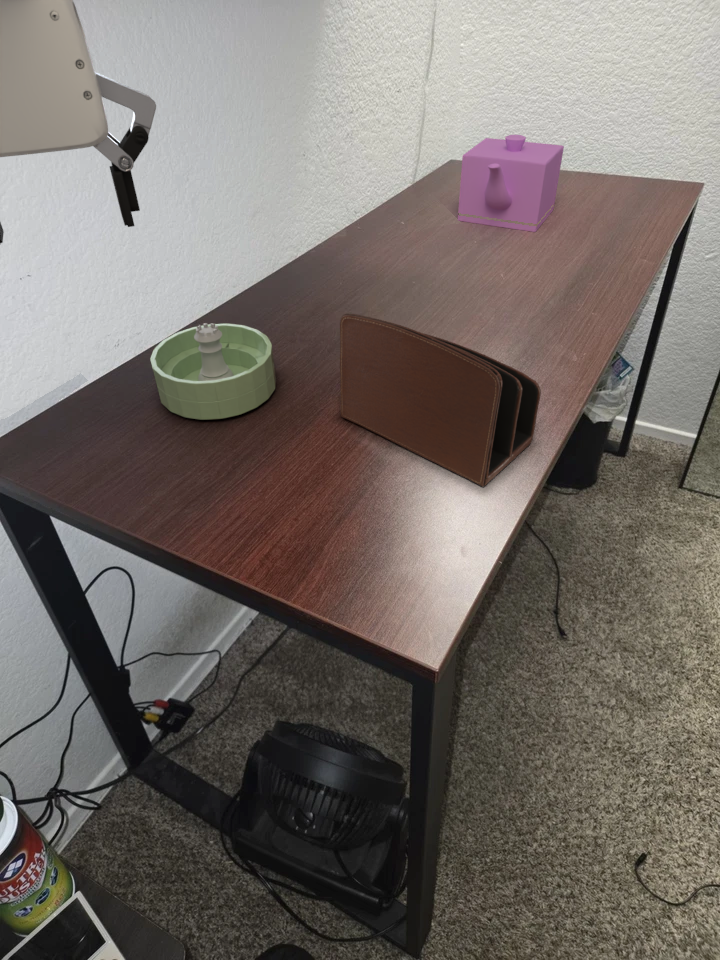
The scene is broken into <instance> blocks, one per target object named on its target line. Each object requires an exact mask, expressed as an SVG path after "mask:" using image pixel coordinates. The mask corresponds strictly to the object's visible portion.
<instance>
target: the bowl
mask: <svg viewBox="0 0 720 960" xmlns="http://www.w3.org/2000/svg"><path fill="white" fill-rule="evenodd" d="M210 324H211V323H209V324H208V323H207V325H208V327H211V325H210ZM214 324H215V326H216V325H217V327H218V330H220V331H221V332H222V336H221V338H220V340H219V342H220V343H221V344H222V348H221V351H222V355H223V358H224V361H225V363H226V365H228V367H229V369H231V370H232V372H233V375H234V376H232V377H227V378H223V379H218V380H209V381H199V380H198V376H199V374H200V370H201V368H202V356H201V352H200V351H199V349H198V347H199V345H200V344H199V342H197V341H196V340H195V339H194V336H195V334H196V329H197V326H193V327H189V328H187V329H184V330H181V331H177V332H175V333H173V334H172V335H170V336H167V337H166V338H164V339H163V340H161V341H160V343H158V345H156V346H155V347H154V349H153V350H152V353H151V355H150V358H149V360H150V365H151V369H152V372H153V376H154V381H155V383H156V389H157V392H158V395H159V399H160V400H159V401H160V403H161V404H162V406H164V407H165V408H166V409H167V410H168V411H169V412H171V413H173V414H175V415H177V416H180V417H183V418H187V419H195V420H201V421H204V420H221V419H227V418H232V417H236V416H239V415H242V414H245V413H247V412H250V411H252V410H254V409H256V408H259V406H261V405H262V404H263V403H265V402H266V401H268V400H269V399H270V397H271V396H272V395H273V393H274V392H275V390H276V384H277V383H276V382H277V374H276V367H275V366H276V365H275V359H274V358H275V357H274V351H273V344H272V342H271V340H270V338H269V337H268V336H267V335H266V334H265V333H263V332H261V331H260V330H259V329H256V328H253V327H251V326H247V325H244V324H235V323H214ZM200 326H201V328H203V327H204V326H203V325H200Z"/></svg>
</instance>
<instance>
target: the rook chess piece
mask: <svg viewBox="0 0 720 960" xmlns="http://www.w3.org/2000/svg"><path fill="white" fill-rule="evenodd" d="M209 324H210V325H211V327H208V322H205V323H202V325H201V324H198V325H197V326H196V327H197V329H196V334H195V336H194V339H195V340H196V341H197V342H199V344H200V345H199V347H198V349H199V351H200V352H201V356H202V368H201V370H200V374H199V376H198V380H199V381H209V380H218V379H223V378H227V377H232V376H234V375H233V372H232V370H231V369H229V367H228V365H226V363H225V361H224V358H223V355H222V351H221V348H222V344H221V343H220V342H219V340H220V338H221V336H222V332H221V331H220V330H218V327H217V325H216V326H215V324H216V323H213V322H211V323H209ZM201 326H204V327H203V328H201Z"/></svg>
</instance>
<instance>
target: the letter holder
mask: <svg viewBox="0 0 720 960" xmlns="http://www.w3.org/2000/svg"><path fill="white" fill-rule="evenodd" d="M339 379H340V380H339V383H340V384H339V387H340V388H339V389H340V391H339V392H340V393H339V394H340V395H339V396H340V398H339V399H340V401H339V412H340V417H341V418H342V419H345V420H347V421H349V422H351V423H354V424H356V425H358V426H360V427H361V428H364V429H365V430H368V431H370V432H372V433H374V434H376V435H378V436H380V437H382V438H384V439H386V440H388V441H390V442H392V443H394V444H396V445H398V446H400V447H402V448H404V449H406V450H408V451H410V452H412V453H414V454H416V455H418V456H420V457H422V458H424V459H425V460H428V461H430V462H432V463H433V464H436V465H438V466H440V467H442V468H444V469H446V470H447V471H450V472H452V473H454V474H456V475H457V476H460V477H462V478H464V479H466V480H469V481H471V482H472V483H474V484H476V485H478V486H480V487H481V488H486V486H487V485H488V484H489V483H490V482H491V481H492V480H493V479H494V478H495V477H496V476H498V474H500V473H501V472H502V471H503V470H504V469H505V468H506V467H507V466H508V465H510V463H511V462H513V460H515V459H516V458H517V457H518V456H519V455H520V454H521V453H522V452H523V451H525V449H526V448H527V447H529V446H530V444H531V443H533V440H534V435H535V429H536V424H537V416H538V410H539V405H540V401H541V394H542V390H541V387H540V384H539V383H538V382H537V381H536V380H535V379H533V378H532V377H530V376H528V375H527V374H525V373H524V372H522V371H520V370H518V369H516V368H514V367H512V366H509V365H508V364H506V363H503V362H501V361H498V360H497V359H495V358H492V357H490V356H488V355H486V354H483V353H481V352H479V351H476V350H474V349H471V348H469V347H467V346H463V345H461V344H458V343H455V342H453V341H450V340H447V339H444V338H440V337H438V336H434V335H431V334H427V333H423V332H420V331H418V330H416V329H412V328H410V327H407V326H404V325H401V324H398V323H394V322H390V321H387V320H383V319H381V318H380V319H379V318H374V317H371V316H365V315H361V314H356V313H343V314H342V315H341V317H340V320H339Z"/></svg>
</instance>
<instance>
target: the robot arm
mask: <svg viewBox="0 0 720 960" xmlns="http://www.w3.org/2000/svg"><path fill="white" fill-rule="evenodd" d="M104 99H106V100H109V101H110V102H114V103H115V104H118V105H121V106H123V107H126V108H128V109H130V110H131V111H132V119H131V123H130V126H129V128H128V130H127V131H126V132H125V134H124V135H123V138H122V139H121V140H120V141H119V140H118V139H117V138H116V137H115V136H114V135H113V134H112V133H111V132H109V124H108V118H107V112H106V107H105V104H104V102H105V101H104ZM156 110H157V103H156V101H155V100H154V98H153V97H152V96H151V95H150V94H147V93H145V92H142V91H141V90H138V89H136V88H133V87H131V86H128V85H126V84H125V83H122V82H120V81H118V80H115V79H113V78H110V77H108V76H106V75H103V74H101V73H99V72H97V71H96V69H95V65H94V62H93V58H92V54H91V51H90V48H89V45H88V42H87V38H86V35H85V31H84V29H83V25H82V23H81V19H80V16H79V13H78V11H77V8H76V5H75V1H74V0H0V158H8V157H17V156H25V155H28V156H29V155H36V154H44V153H45V154H46V153H55V152H63V151H72V150H80V149H85V148H91V147H93V148H95V149H96V150H97V151H98V152H99V153H101V155H103V156H104V157H105V158H106V159H108V160H109V161H110V163H111V165H109V170H110V174H111V178H112V182H113V186H114V191H115V194H116V199H117V203H118V207H119V211H120V214H121V219H122V221H123V224H124V226H126V227H127V228H132V227H135V223H134V222H135V221H134V217H133V214H132V212H139V211H141V209H140V204H139V199H138V196H137V192H136V191H137V190H136V187H135V183H134V178H133V174H132V170H133V168H134V164H135V162H136V161H137V159H138V157H139V156H140V154H141V153H142V151H144V148H145V147H146V145H147V144H148V142H149V138H150V137H149V136H150V131H151V129H152V126H153V122H154V117H155V114H156ZM3 243H4V228H3V225H2V223H1V221H0V244H3Z"/></svg>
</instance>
